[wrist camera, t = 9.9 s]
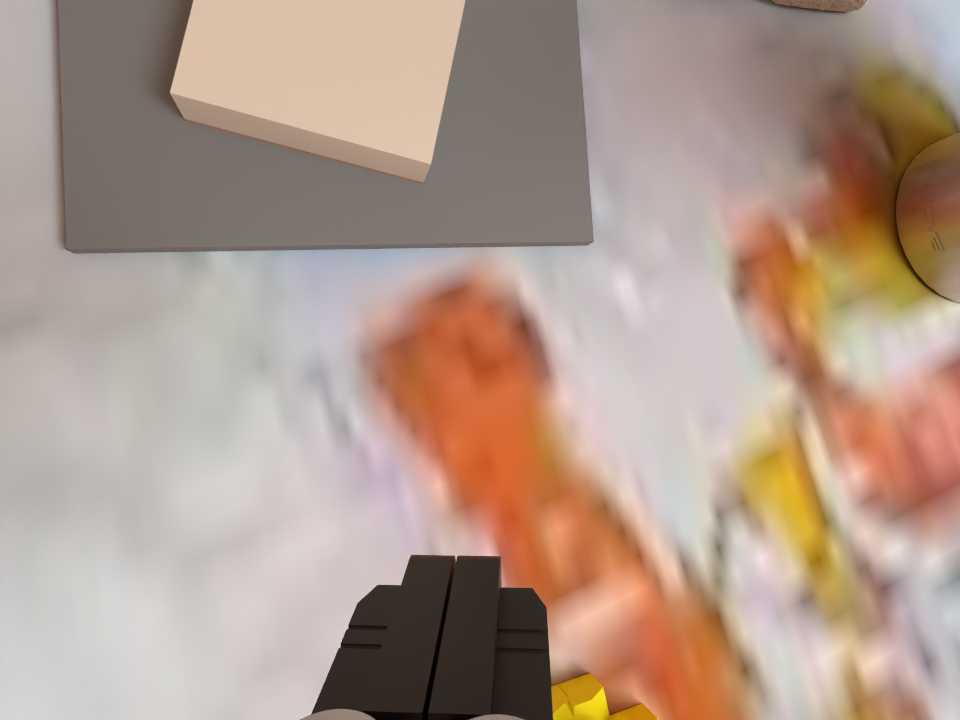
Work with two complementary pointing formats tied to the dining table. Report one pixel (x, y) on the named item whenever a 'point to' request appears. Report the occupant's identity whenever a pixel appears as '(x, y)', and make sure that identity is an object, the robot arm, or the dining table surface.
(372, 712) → the robot arm
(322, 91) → the tile
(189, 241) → the mat
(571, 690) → the crumpled paper
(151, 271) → the dining table surface
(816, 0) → the washcloth
